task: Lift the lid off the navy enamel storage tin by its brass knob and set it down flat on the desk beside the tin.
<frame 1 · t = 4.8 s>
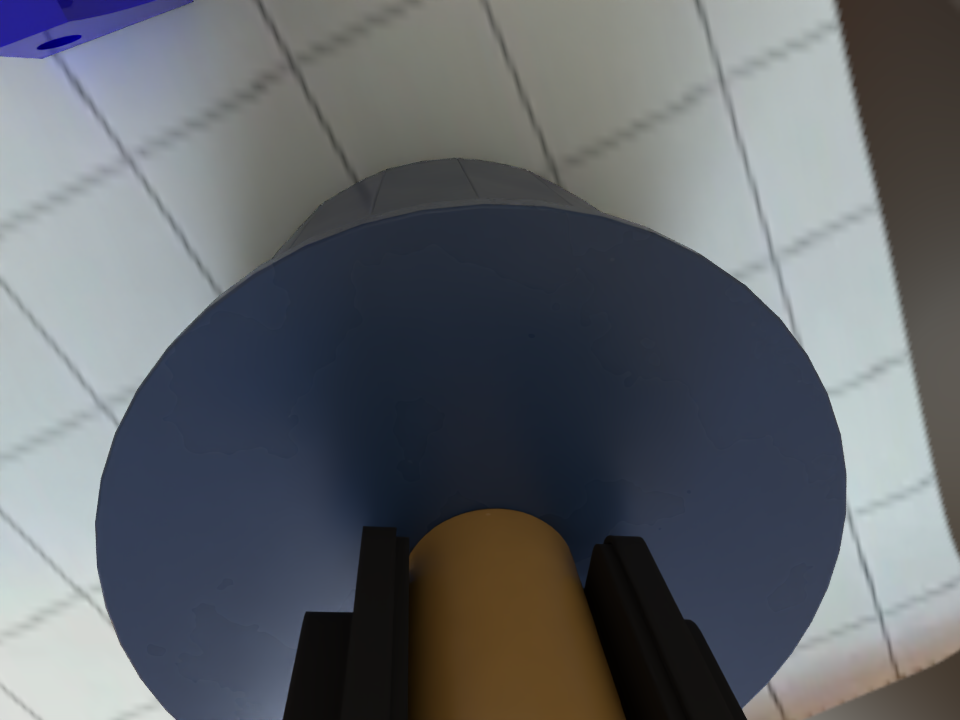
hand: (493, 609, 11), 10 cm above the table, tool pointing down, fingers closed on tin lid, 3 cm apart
tin lid: (485, 555, 12), point 9 cm above the table, touching gripper, tin
tin: (456, 362, 20), on the table
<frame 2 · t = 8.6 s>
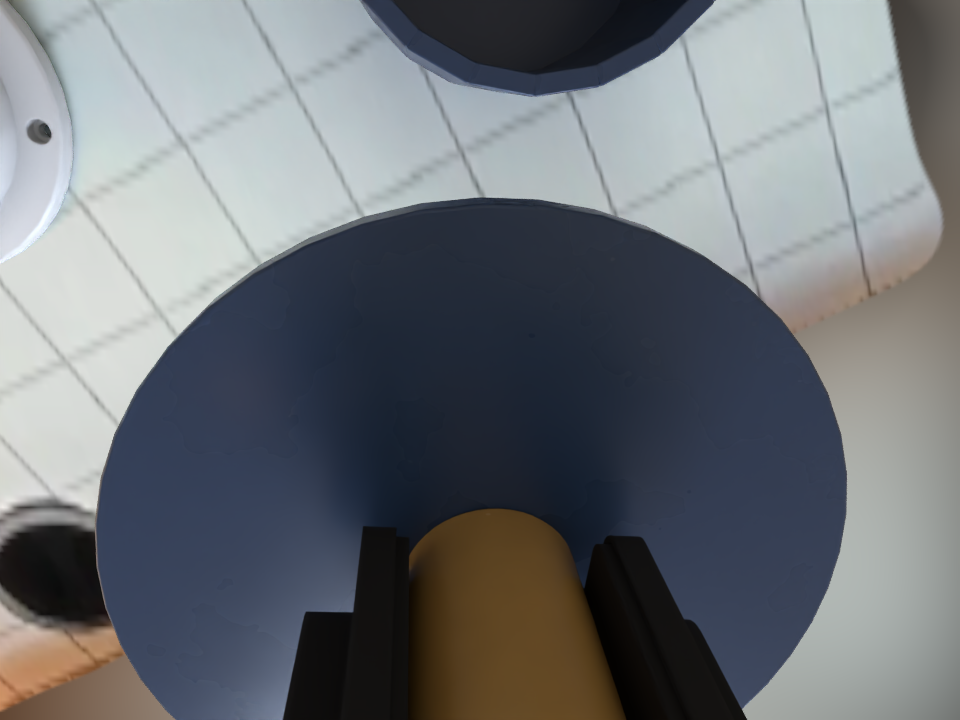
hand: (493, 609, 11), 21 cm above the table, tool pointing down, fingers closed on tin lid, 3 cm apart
tin lid: (485, 555, 12), point 19 cm above the table, touching gripper
when the fingers open (2 cm above the table, at t = 12.8 s): tin lid stays where it is, point 1 cm above the table.
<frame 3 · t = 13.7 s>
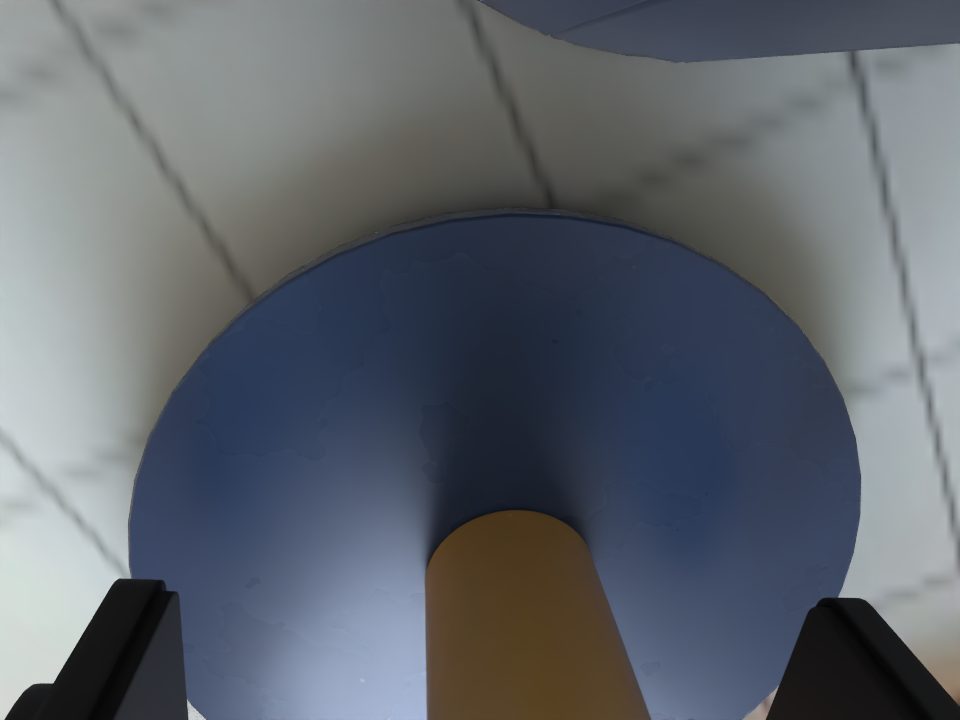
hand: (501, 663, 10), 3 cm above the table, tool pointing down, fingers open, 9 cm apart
tin lid: (505, 556, 12), point 1 cm above the table
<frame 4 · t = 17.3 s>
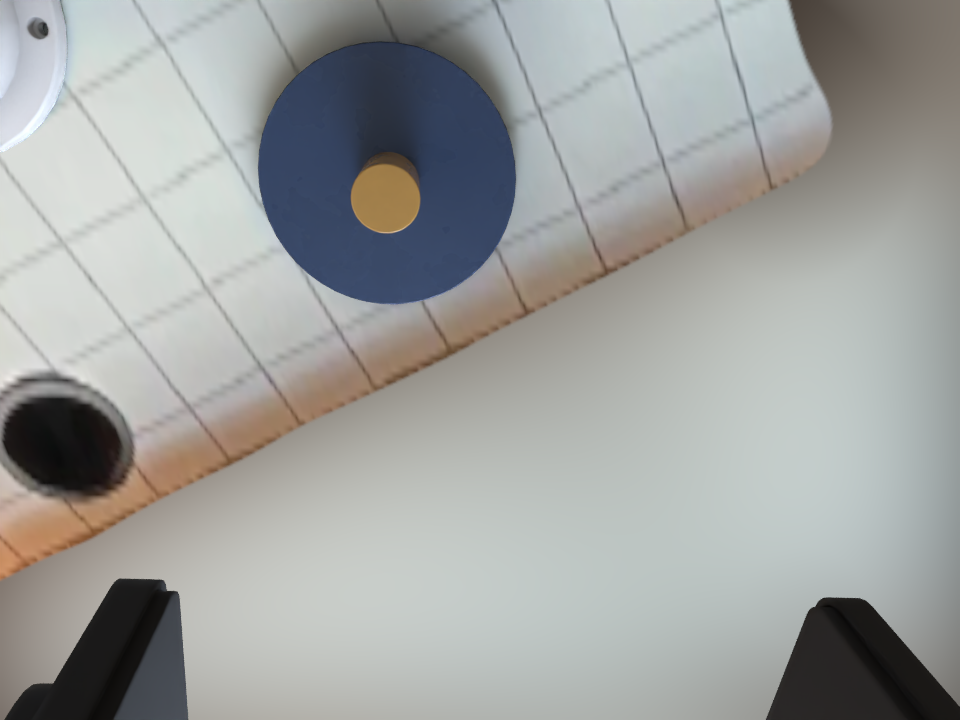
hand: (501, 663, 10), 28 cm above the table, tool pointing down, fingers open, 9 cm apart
tin lid: (389, 181, 34), point 1 cm above the table
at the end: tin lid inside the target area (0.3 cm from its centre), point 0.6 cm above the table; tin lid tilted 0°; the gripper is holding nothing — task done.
